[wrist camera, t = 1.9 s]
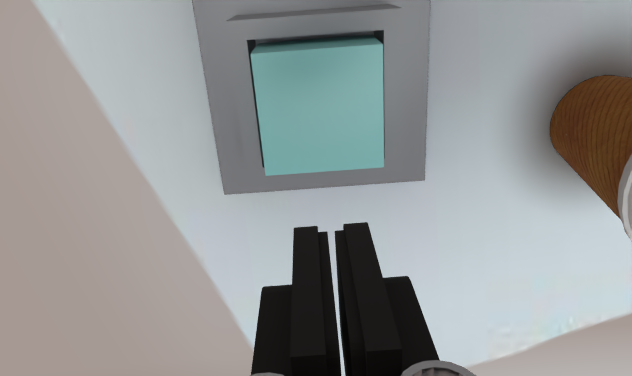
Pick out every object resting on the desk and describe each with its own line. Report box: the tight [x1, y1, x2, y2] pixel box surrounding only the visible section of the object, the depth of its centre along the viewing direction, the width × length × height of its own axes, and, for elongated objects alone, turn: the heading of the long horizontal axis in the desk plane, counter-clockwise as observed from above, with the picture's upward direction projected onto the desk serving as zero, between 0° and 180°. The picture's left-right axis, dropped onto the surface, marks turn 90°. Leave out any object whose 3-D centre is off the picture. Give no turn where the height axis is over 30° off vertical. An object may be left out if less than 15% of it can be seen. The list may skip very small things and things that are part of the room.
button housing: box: [192, 0, 430, 195], centre depth 28 cm, size 14×14×5 cm
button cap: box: [251, 35, 384, 176], centre depth 25 cm, size 6×6×4 cm
